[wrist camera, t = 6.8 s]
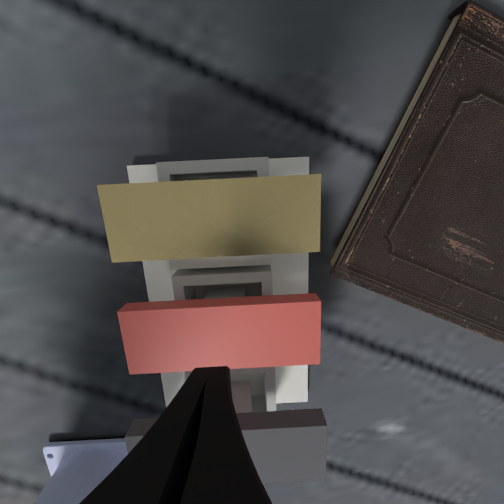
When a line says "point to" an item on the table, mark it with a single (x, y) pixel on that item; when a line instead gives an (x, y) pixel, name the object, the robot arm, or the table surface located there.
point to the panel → (231, 273)
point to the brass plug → (212, 217)
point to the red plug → (221, 331)
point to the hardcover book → (441, 188)
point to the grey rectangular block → (270, 439)
